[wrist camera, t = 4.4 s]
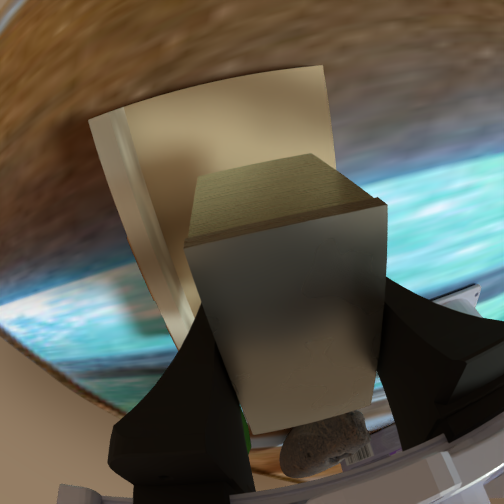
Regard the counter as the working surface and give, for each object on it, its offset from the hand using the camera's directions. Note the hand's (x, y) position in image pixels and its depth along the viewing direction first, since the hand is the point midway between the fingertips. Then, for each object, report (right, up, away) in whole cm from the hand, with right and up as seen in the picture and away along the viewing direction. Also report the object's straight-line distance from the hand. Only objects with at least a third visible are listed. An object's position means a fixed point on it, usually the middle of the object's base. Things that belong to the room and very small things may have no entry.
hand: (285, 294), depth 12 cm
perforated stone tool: (+5, -17, +20) cm, 26 cm away
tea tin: (0, +2, +2) cm, 2 cm away
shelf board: (-2, +4, +7) cm, 8 cm away
